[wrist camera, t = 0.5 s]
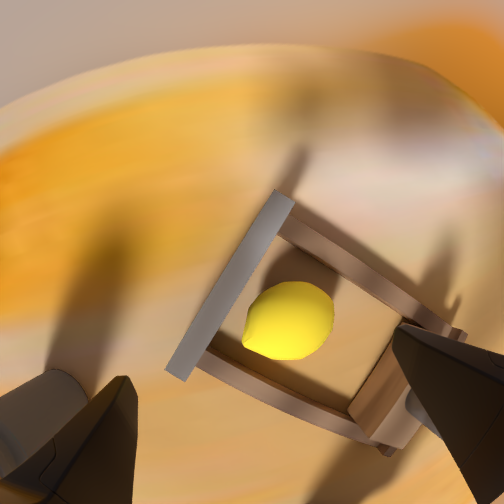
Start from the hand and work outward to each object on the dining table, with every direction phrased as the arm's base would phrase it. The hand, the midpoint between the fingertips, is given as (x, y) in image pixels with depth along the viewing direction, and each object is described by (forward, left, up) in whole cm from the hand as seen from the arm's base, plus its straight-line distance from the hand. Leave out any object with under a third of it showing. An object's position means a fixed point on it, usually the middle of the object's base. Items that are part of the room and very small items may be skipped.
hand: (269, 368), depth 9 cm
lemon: (-3, -1, -14) cm, 14 cm away
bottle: (+10, +17, -14) cm, 24 cm away
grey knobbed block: (-14, -1, -14) cm, 20 cm away
